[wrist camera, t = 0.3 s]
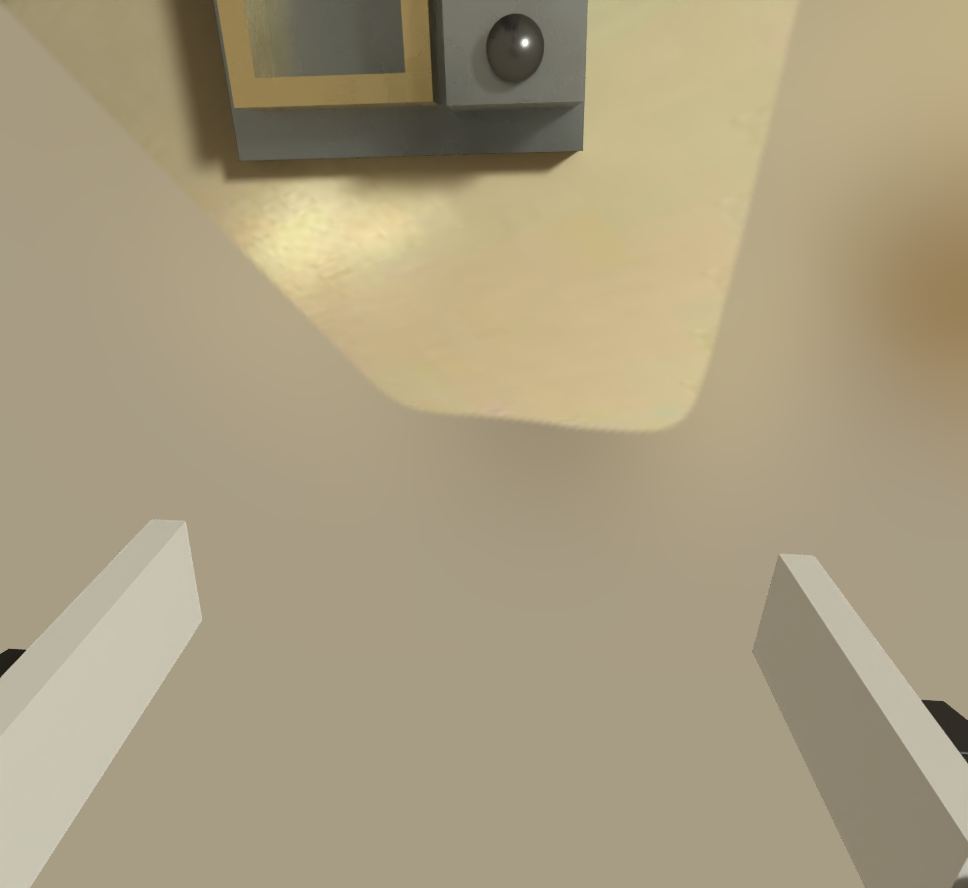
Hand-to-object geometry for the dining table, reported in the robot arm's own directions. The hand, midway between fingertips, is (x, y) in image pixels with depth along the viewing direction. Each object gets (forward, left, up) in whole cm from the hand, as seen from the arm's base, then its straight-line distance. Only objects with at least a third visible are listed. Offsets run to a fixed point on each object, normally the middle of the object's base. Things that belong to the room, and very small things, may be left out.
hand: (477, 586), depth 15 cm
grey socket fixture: (-16, -4, -27) cm, 32 cm away
